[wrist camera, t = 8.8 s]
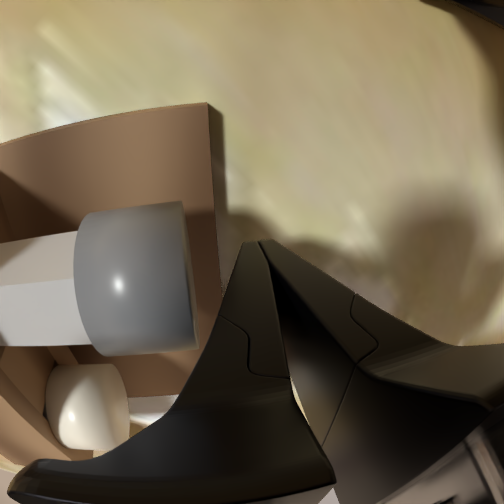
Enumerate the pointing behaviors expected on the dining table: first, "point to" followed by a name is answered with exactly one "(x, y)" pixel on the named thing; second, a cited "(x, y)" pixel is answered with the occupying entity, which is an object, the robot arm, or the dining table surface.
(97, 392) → the cream knob
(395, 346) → the robot arm
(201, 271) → the walnut mount
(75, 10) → the dining table surface
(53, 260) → the graphite knob
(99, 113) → the dining table surface
